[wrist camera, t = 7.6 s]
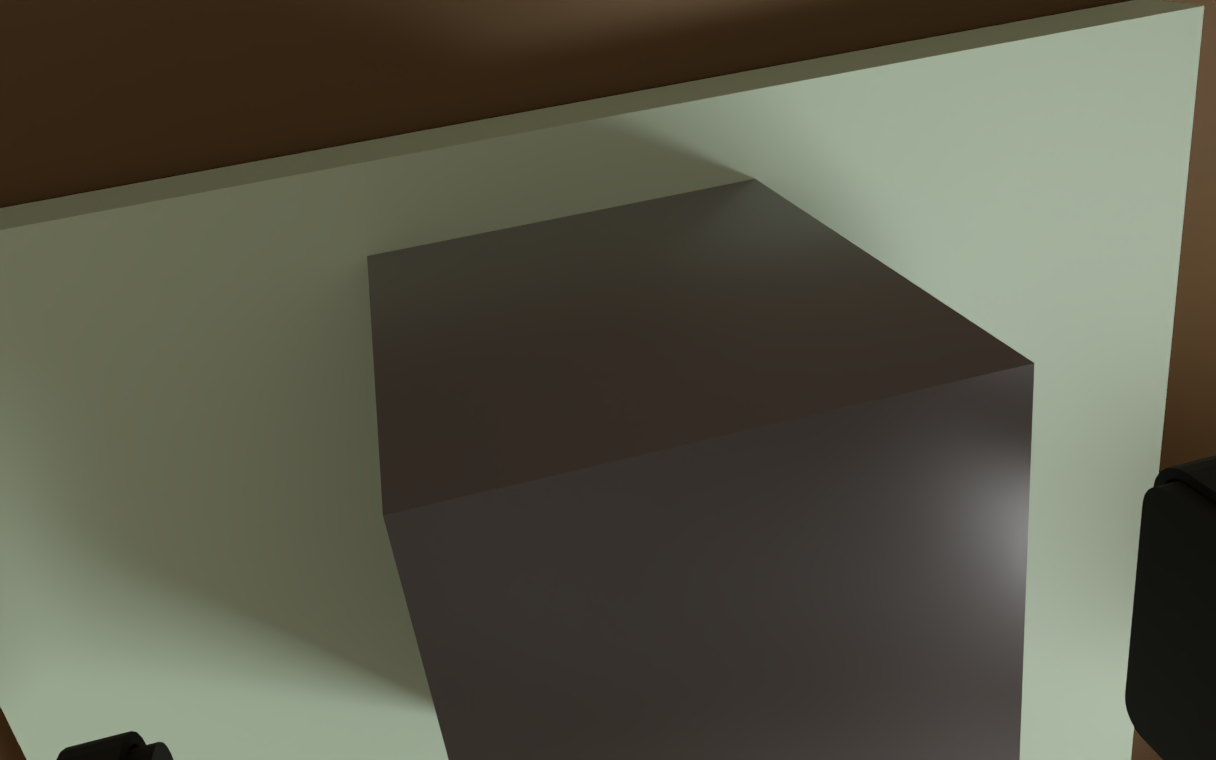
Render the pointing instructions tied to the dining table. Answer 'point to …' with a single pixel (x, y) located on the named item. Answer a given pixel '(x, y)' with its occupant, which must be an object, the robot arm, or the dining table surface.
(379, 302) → the plug
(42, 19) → the dining table surface
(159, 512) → the board
